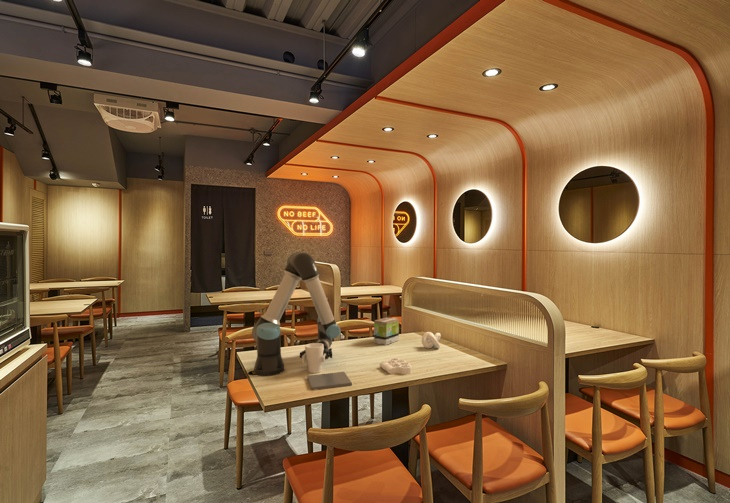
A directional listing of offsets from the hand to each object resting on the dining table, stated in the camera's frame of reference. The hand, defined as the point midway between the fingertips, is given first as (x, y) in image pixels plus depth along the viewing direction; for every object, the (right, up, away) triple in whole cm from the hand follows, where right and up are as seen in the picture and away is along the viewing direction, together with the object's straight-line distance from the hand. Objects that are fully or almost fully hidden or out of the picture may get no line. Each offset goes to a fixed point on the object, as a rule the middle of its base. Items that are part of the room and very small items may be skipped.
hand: (312, 359), depth 188 cm
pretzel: (+66, -5, +45) cm, 80 cm away
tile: (+9, -7, -11) cm, 16 cm away
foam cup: (0, -7, +5) cm, 8 cm away
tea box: (+40, -6, +60) cm, 72 cm away
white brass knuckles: (+42, -7, +6) cm, 43 cm away
